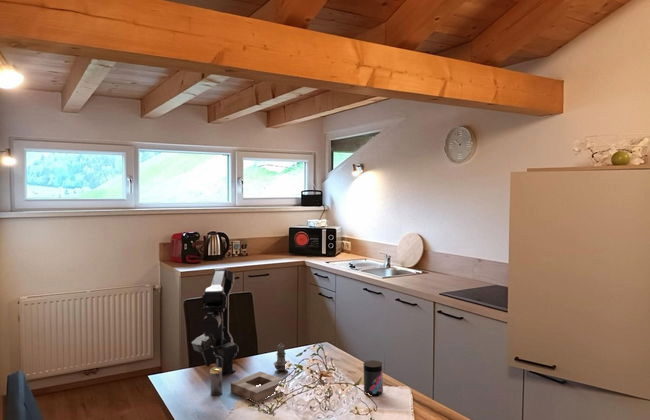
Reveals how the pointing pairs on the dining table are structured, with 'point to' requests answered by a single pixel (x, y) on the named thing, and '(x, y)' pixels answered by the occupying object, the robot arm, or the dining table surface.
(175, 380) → the dining table surface
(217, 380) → the battery cell
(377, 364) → the supplement container
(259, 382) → the holder block
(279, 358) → the weathered candle holder
